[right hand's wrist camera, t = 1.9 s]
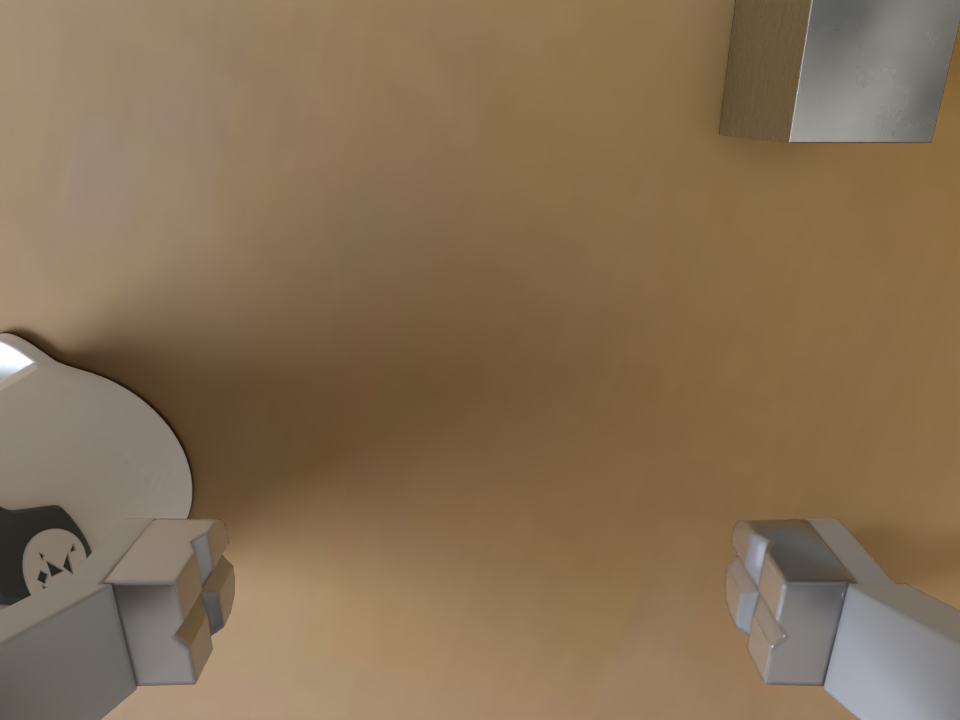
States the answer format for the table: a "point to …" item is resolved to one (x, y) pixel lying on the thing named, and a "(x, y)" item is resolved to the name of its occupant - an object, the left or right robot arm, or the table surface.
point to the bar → (838, 70)
